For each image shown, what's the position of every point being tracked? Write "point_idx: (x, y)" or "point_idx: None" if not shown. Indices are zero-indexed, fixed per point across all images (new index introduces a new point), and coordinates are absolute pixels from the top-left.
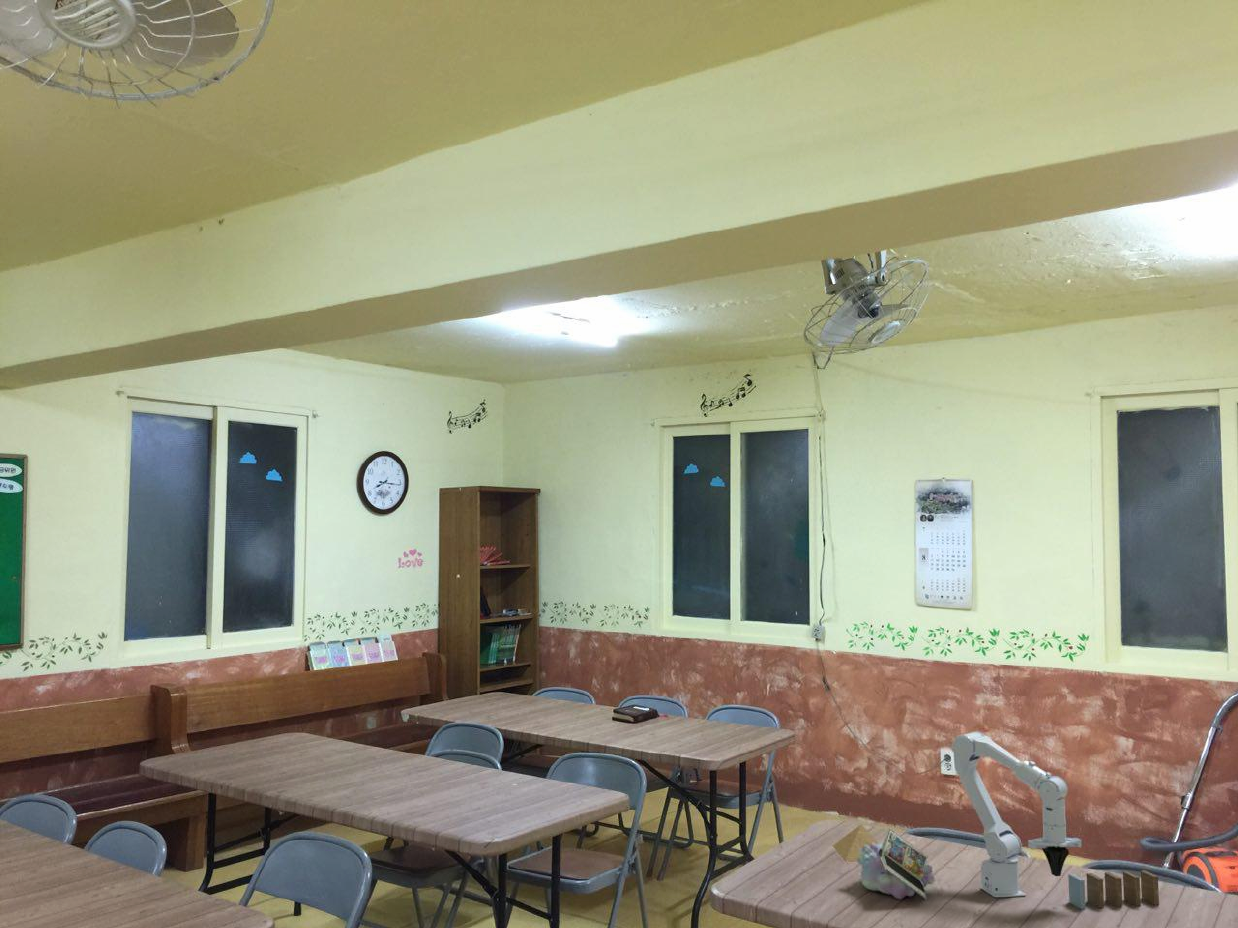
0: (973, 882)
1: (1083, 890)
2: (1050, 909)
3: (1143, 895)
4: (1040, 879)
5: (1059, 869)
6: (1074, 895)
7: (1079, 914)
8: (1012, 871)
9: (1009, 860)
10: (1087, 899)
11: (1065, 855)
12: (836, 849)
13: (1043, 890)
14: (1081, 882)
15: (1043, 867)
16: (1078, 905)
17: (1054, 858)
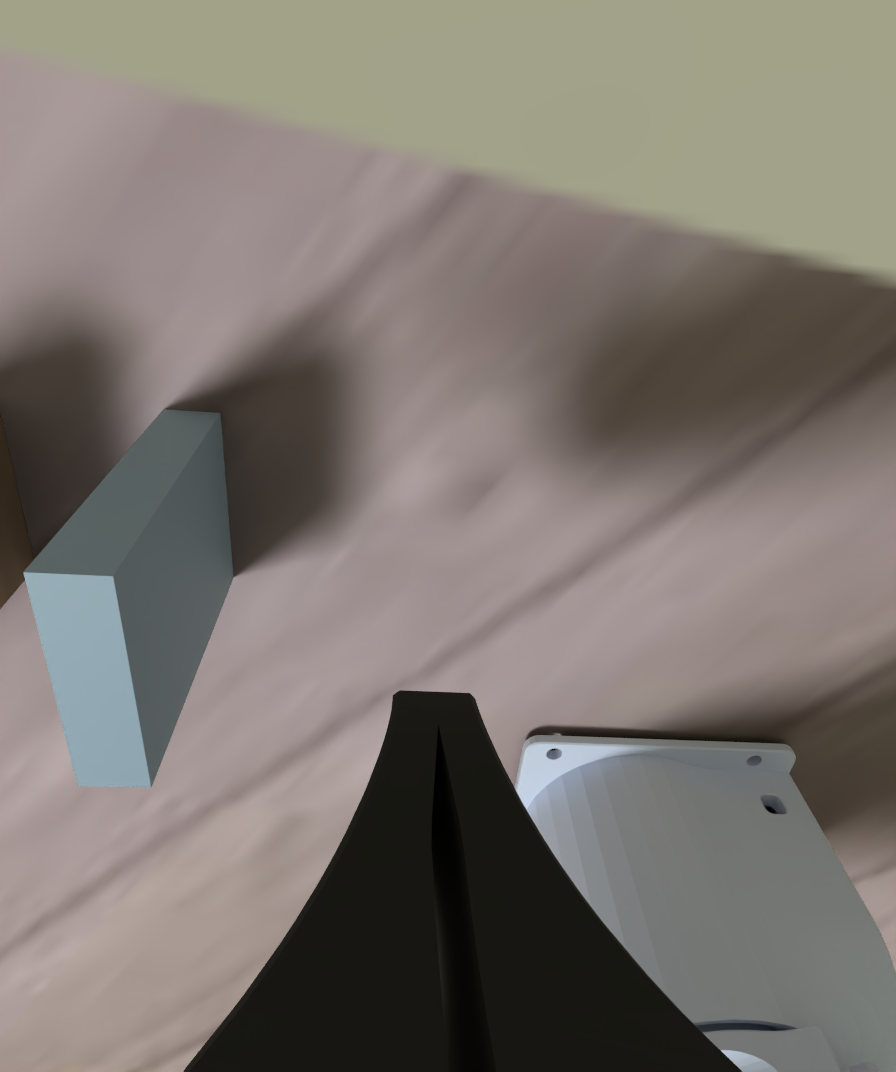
0: None
1: (113, 496)
2: (543, 460)
3: None
4: (188, 936)
5: (428, 759)
6: (203, 553)
7: (337, 273)
8: (695, 934)
9: (772, 1064)
10: None
11: (302, 1019)
12: None
13: (297, 797)
14: (99, 554)
15: (49, 1055)
16: (218, 456)
17: (608, 956)
